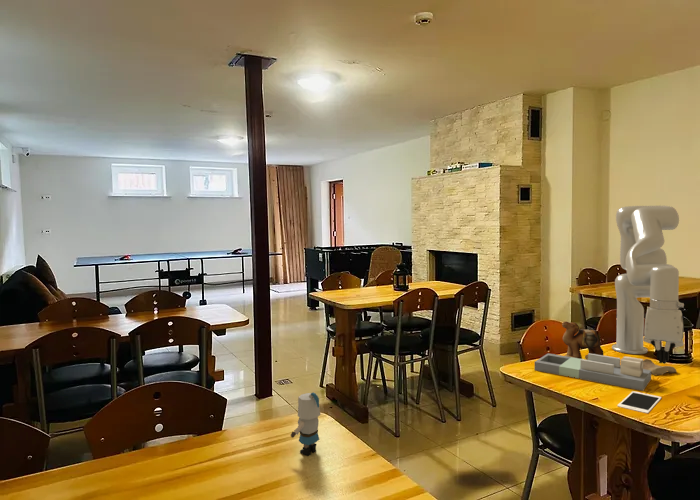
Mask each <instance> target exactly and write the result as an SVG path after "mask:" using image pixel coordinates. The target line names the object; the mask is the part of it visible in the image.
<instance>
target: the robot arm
mask: <svg viewBox="0 0 700 500" xmlns="http://www.w3.org/2000/svg"><path fill="white" fill-rule="evenodd" d="M615 223H616V226H617V228H618V231H619V235H620V248H619V249H620V251H619V252H620V253H619V264H620V266H621V268H622V269H623V270H625V271H626V273H622V274H619V275H617V276H616V278H615V279H614V287H615V288H614V289H615V293H616V294H615V296H616V340H615V341H616V343H614V344H613V345H612V346H611V349H612V350H613V351H616V352H619V353H622V354H629V355H645V354H647V353H648V352H649V351H648V348H647V347H645V346H644V343H647V344H651V345H652V346H653V347H654V348H655V350H656V359H657V360H658V363H659V364H662V365H663V364H664V365H665V364H666V363H667V361H669V359H670V350H672V349H674V348H679V347H683V346H684V345H685V343H684V320H683V313H682V310H680V308H681V309H682V308H684V306H685V304H684V302H680V301H679V291H680V290H679V285H680V284H679V283H680V281H679V280H680V276H679V275H680V273H679V272H680V271H679V269H678V268H677V267H675V266H674V265H672V264H668V259H667V255H666V254H667V253H666V251H665V250H664V249H663V248H662V247H663V246H664V245H665V237H664V232H663V231H673V230H676V229H677V228H678V227H679V223H680V216H679V212H678V211H677V209H675V207H673V206H670V205H630V206H629V205H628V206H622V207H620V208H619V209H618V208H617V211H616V214H615ZM638 298H649V307H648V308H647V309H646V313H645V308H644V306H643V304H642V303H641V302H640V301H639V300H638ZM644 318H645V319H644ZM662 342H665V344H664V345H665V346H664V348H663V347H662Z"/></svg>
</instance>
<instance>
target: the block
mask: <svg viewBox="0 0 700 500" xmlns="http://www.w3.org/2000/svg"><path fill="white" fill-rule="evenodd" d="M643 361H644V359H643V358H637V357H633V356H632V357H631V356H623V357H622V358H620V365H621V374H626V375H632V376H638V377H640V376H641V374H642V373H643Z"/></svg>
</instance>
